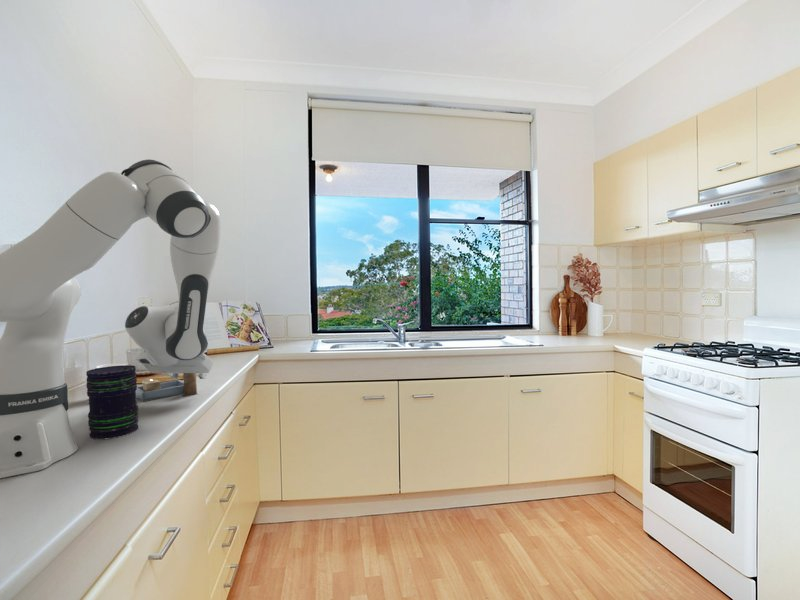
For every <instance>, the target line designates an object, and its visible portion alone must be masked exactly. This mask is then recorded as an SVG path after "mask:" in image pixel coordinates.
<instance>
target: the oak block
mask: <svg viewBox="0 0 800 600" xmlns="http://www.w3.org/2000/svg"><path fill="white" fill-rule="evenodd" d="M161 383H162V382H161V381H160V380H158V379H153V381H146V382H143V384H142V386H143V391H144V392H147V391H153V390H159V389H161Z"/></svg>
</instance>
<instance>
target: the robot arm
mask: <svg viewBox="0 0 800 600" xmlns="http://www.w3.org/2000/svg"><path fill="white" fill-rule="evenodd" d="M220 214H221V213H220V211H219V210H218V208H217V207H216V206H215V205H214V204H212V203H211V202H209V201H206V200H204V199H203V198H202V197H201V196H200V195H199V194H198V193H196V192H195V190H194V189H193V188H192V187H191V186H190V185H189V182H187V181H186V180H185V178H183V177H181V176H180V175H179V174H178V173H177V172H175V171H173V169H172V167H170V166H168V165H166V164H165V163H163V162H162V161H159V160H158V161H157V160H155V159H144V160H140V161H137V162H135V163H132V165H130V166H129V167H128V168H125V169H123V170H122V171H121V172H120V173H119V172H116V171H115V172H114V171H107V172H102V174H99V175H98V176H96V177H95V178H93V179H91V180H90V181H89V182H87V183H86V184H85V185H84V186H82V187H81V188H79V189H78V190H77V191H76V192H75V193H74V194H73V195H71V196H70V197H69V198H68V199H67V200H66V201H65V202H64V203H63V204H62V205H61V206H60V207H59V208H58V209H57V210H56V211H55V212H54V213H53V214H52V215H51V216H50V217H49V218H48V219H47V220H46V221H45V222H44V223H43V224H42V225H40V227H39V228H38V229H36V230H35V231H33V232H32V233H31V234H30V235H28V236H26V237H25V238H23V239H22V240H21V241H19V242H17V243H16V244H14V245H12V246H11V247H9V248H7V249H6V250H4V251H3V252H1V253H0V322H1V323H5V322H6V324H5V327H4V330H3V333H2V335H1V337H0V479H5V478H8V477H13V476H17V475H23V474H28V473H33V472H37V471H42V470H44V469H46V468H48V467H49V466H50V465H52V464H54V463H56V462H58V461H60V460H63V459H65V458H68V457H69V456H71V455H73V454H74V453H75V452H76V451H78V448H79V446H78V444H77V442H76V439H75V436H74V434H73V431H72V428H71V423H70V419H69V413H68V410H69V406H70V395H69V394H70V393H69V388H68V384H67V383H66V382H65V365H64V363H65V362H64V361H65V360H64V348H65V338H66V333H67V329H68V326H69V322H70V319H71V318H70V317H71V314H72V312H73V310H74V308H75V306H77V304H78V303H79V301H80V299H81V295H82V294H81V293H82V289H81V285H80V283H79V281H78V280H77V275H80V274H81V273H83V272H86V271H88V270H90V269H91V268H93V267H95V266H96V265H97V263H98V262H99V261H100V260H101V259H102V258H103V257H104V256H105V255H106V254H107V253H108V252H109V251H110V250H111V249H112V248H113V247H114V246H115V245H116V244H117V242H118V241H120V240H121V238H122V237H124V235H125V234H126V233H127V232H128V231H129V229H130V228H131V227H132V226H133V224H135V223H136V222H138V221H140V220H142V219H145V218H148V217H149V218H150V220H152V222H154V223H156V224H157V225H158V227H159V228H160V229H161V230H162V231H164V232H165V233H167V234H169V235H170V240H169V241H170V242H169V253H170V254H169V255H170V263H171V268H172V271H173V276H174V280H175V283H176V289H177V293H178V294H177V295H178V300H177V301H175V302H172V303H170V304H167V305H162V306H148V305H143V306H139V307H136V308H135V309H133V310H132V311H131V312H130V313H129V314H128V315H127V316H126V317H127V318H126V320H125V321H124V327H125V331H126V332H127V334H128V335H129V337H130V338H131V339H132V341H133V342H134V343H135V344H136V345H137V346H138V347H139V348H140V351H139V354H138V355H137V357H136V361H137V363H139V364H141V366H142V367H143V368H144V369H145V370H147V372H149V373H151V374H164V375H166V376H169V377H170V378H171V379H172V380H173V379H174V380H175V379H176V380H179V378H180V374H183V373H196V374H198V375H197V377H198V378H199V379H200V380H206V378H207V376H208V374H209V373H210V371H211V370H212V368H213V365H214V363H213V360H211V358H210V357H209V356H208V355H206V354H205V353H204V352H206V350H207V348H208V347H209V343H208V339H207V336H206V332H205V328H204V324H205V323H204V322H205V317H206V306H207V301H208V300H207V298H208V292H209V289H210V285H211V281H212V275H213V271H214V267H215V264H216V260H217V256H218V252H219V248H220V240H221V215H220Z"/></svg>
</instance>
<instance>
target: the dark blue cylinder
mask: <svg viewBox="0 0 800 600" xmlns="http://www.w3.org/2000/svg"><path fill="white" fill-rule="evenodd" d="M136 369H137V367H136V365H131V364H130V365H129V364H126V365H121V366H110V367H102V368H92V369H89V370H87V371H86V372H85V373H86V376H87V377H86V384H85V385H86V395H87V397H88V404H89V405H88V406H89V412H88V413H87V414H88V415H87V417H88V420H87V422H88V430H89V438H90V439H92V438H93V439H92V440H106V439H105V438H110V439H114V438H113V437H116V438H120V437H119V436H121V437H124V436H128V435H130V433H131V434H133V433H135V432H137V431H138V430H139V424H138V423H139V412H138V411H139V408H138V407H139V406H138V405H137V397H136V389H137V387H138V385H137V382H138V380H137V379H138V378H137V374H136V373H137V372H136ZM137 429H138V430H137ZM136 430H137V431H136ZM134 431H135V432H134ZM132 432H133V433H132ZM127 434H128V435H127ZM123 435H124V436H123Z"/></svg>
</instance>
